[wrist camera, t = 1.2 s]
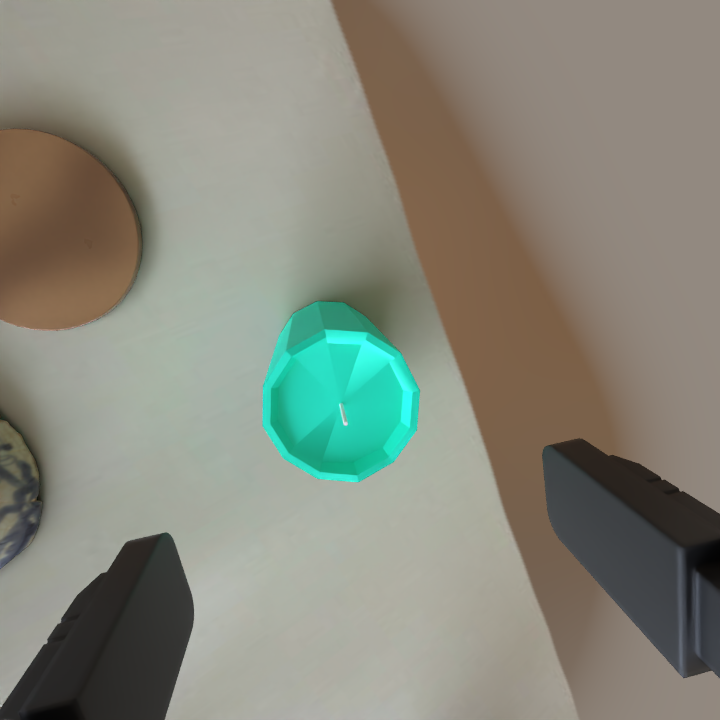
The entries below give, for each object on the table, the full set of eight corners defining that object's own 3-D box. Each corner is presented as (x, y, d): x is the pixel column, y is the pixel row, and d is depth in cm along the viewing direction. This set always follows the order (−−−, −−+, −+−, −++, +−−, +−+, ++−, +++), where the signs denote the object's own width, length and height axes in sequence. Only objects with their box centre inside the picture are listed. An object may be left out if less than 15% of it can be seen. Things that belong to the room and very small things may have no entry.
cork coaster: (-99, 260, 23) (-109, 260, 23) (-10, 86, 22) (-18, 82, 21) (87, 363, 25) (82, 365, 25) (177, 210, 24) (174, 209, 24)
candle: (386, 386, 28) (444, 481, 16) (290, 408, 27) (279, 521, 16) (367, 290, 26) (416, 318, 15) (266, 312, 26) (234, 359, 14)
